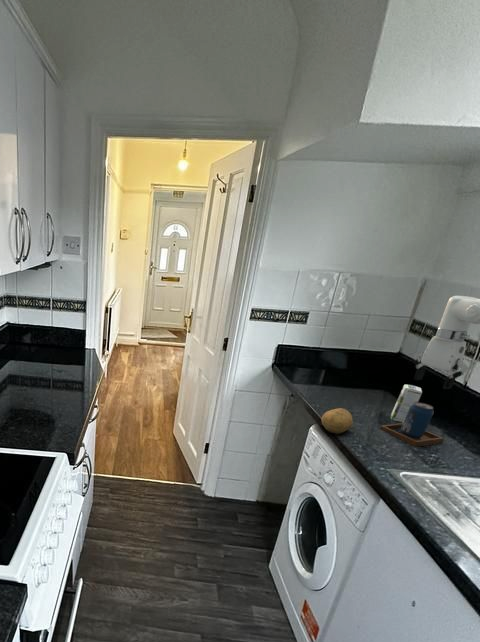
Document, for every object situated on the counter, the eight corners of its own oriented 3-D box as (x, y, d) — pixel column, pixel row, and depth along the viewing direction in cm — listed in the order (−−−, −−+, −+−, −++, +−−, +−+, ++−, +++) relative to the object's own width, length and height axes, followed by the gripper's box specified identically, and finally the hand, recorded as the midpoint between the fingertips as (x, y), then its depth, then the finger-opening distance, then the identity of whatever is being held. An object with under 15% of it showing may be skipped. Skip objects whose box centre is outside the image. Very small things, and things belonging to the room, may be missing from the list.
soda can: (423, 436, 151) (437, 406, 146) (419, 441, 147) (433, 411, 142) (401, 429, 156) (414, 399, 150) (397, 434, 151) (410, 404, 146)
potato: (312, 431, 151) (318, 412, 147) (325, 421, 160) (332, 402, 156) (340, 442, 145) (348, 421, 141) (353, 431, 154) (360, 411, 150)
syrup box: (389, 416, 168) (403, 383, 162) (406, 420, 166) (421, 387, 160) (390, 421, 164) (404, 387, 158) (408, 425, 161) (423, 391, 155)
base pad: (441, 443, 148) (443, 438, 147) (414, 447, 144) (416, 441, 143) (405, 427, 159) (407, 422, 159) (379, 430, 155) (381, 425, 154)
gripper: (487, 340, 130) (466, 391, 137) (431, 329, 145) (414, 376, 152) (471, 341, 128) (450, 393, 134) (416, 329, 143) (400, 377, 149)
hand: (431, 384), depth 143 cm, fingers open, 9 cm apart
